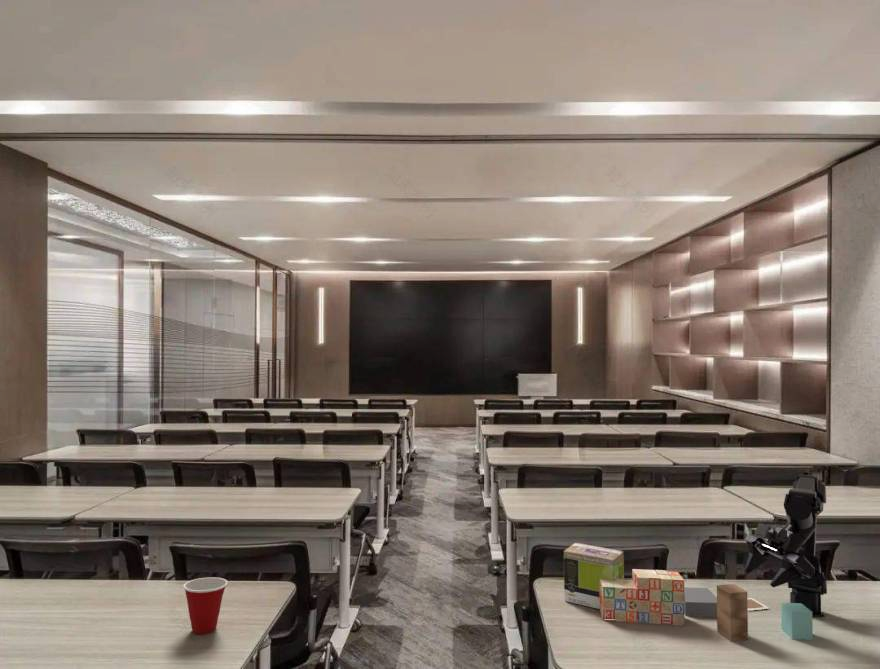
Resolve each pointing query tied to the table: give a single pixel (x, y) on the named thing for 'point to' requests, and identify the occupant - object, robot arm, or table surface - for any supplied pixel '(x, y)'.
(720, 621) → the walnut block
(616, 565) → the tea box
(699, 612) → the base block
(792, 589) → the robot arm
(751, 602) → the card
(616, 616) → the stack of blocks
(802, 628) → the teal block
